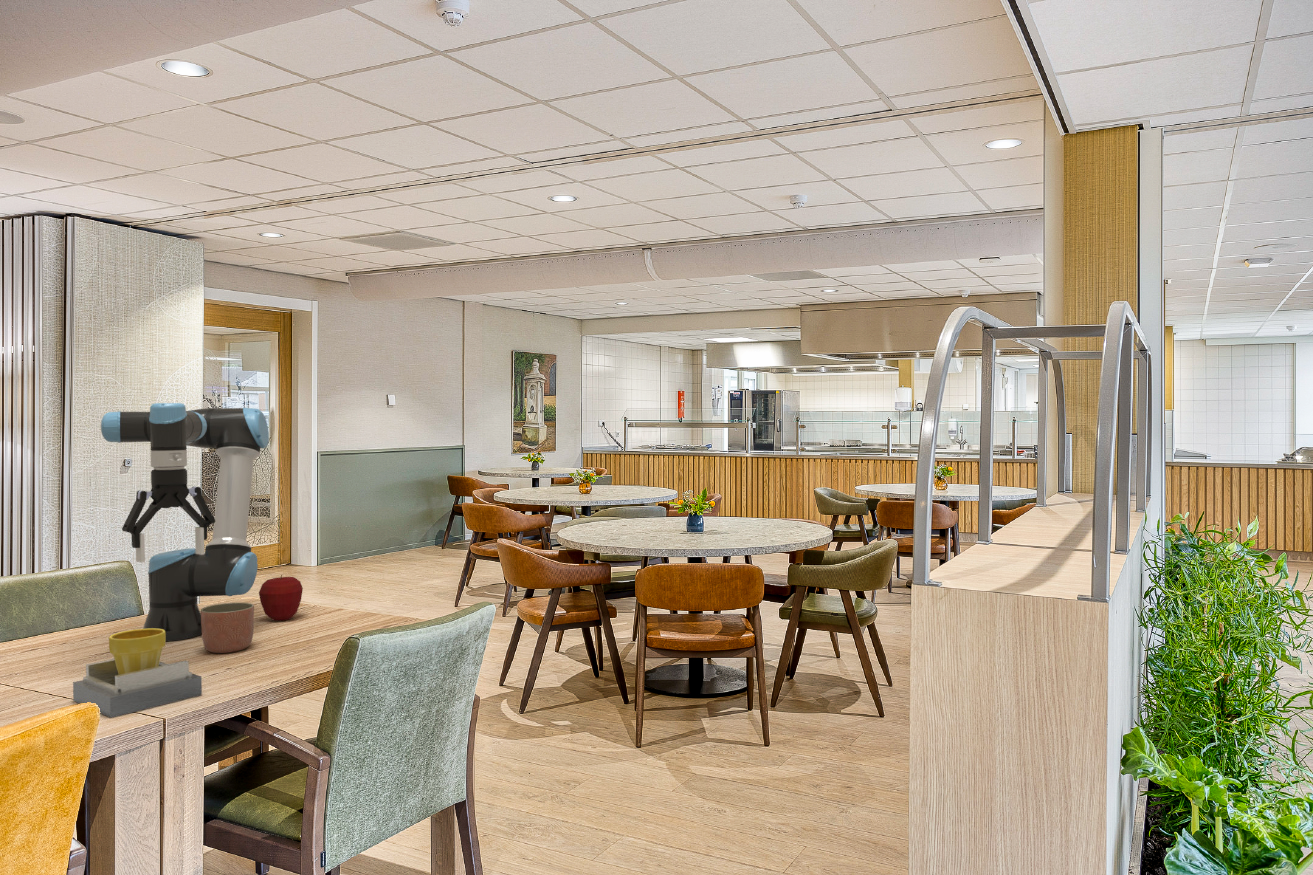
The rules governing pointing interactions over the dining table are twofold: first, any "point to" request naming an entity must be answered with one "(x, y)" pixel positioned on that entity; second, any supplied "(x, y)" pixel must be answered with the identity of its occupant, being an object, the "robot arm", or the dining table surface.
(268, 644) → the dining table surface
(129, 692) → the grey square tray
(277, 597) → the apple
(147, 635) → the plant pot
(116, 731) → the dining table surface
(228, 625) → the planter
